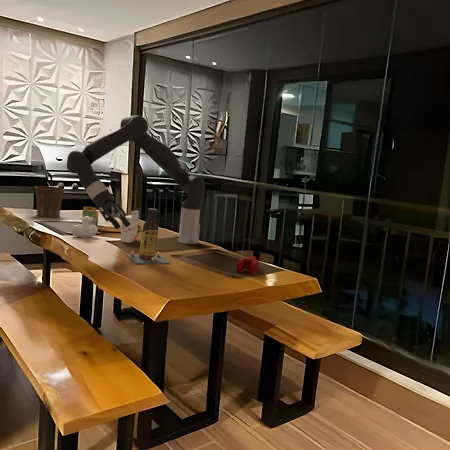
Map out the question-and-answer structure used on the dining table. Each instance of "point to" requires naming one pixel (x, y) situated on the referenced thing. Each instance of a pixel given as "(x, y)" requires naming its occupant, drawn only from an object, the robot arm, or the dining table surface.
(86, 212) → the crayon box
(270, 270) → the dining table surface
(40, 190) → the plant pot
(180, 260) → the dining table surface
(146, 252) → the sauce bottle
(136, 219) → the ink cartridge box
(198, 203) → the robot arm
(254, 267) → the mechanical linkage
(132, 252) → the brass pins
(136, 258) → the slate pad
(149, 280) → the dining table surface
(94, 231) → the bust
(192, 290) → the dining table surface
